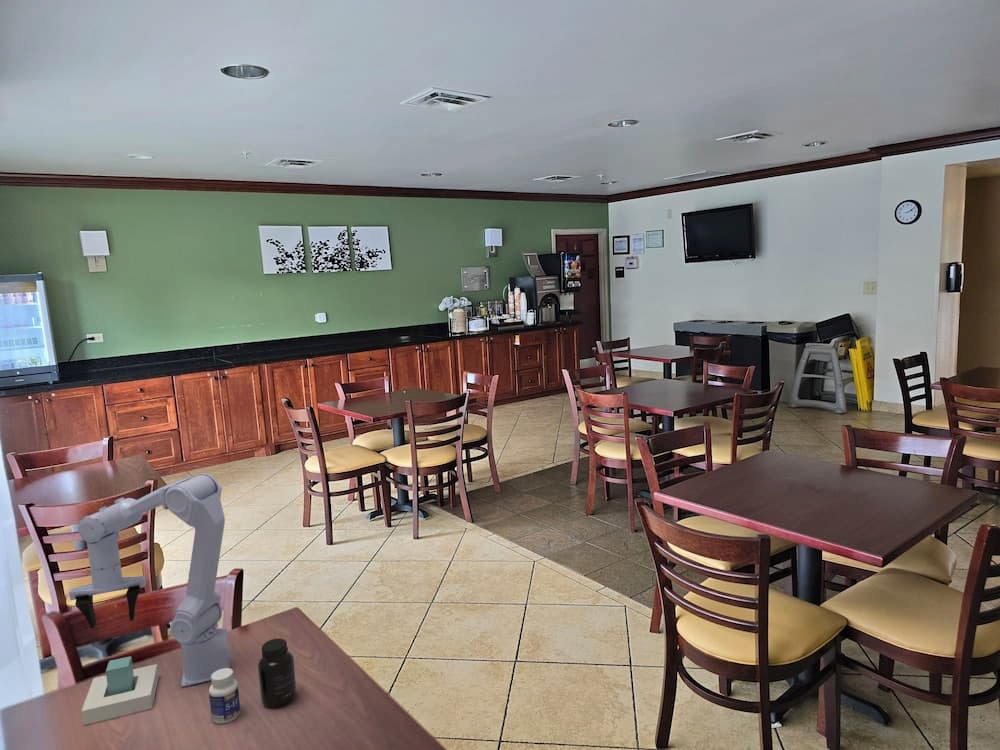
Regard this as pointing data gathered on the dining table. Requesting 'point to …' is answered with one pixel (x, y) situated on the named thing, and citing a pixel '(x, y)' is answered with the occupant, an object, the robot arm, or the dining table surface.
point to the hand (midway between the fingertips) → (112, 622)
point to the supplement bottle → (276, 674)
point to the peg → (120, 676)
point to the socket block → (120, 697)
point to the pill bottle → (224, 696)
